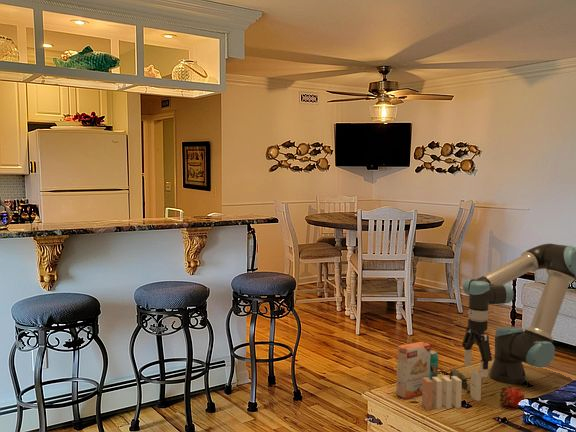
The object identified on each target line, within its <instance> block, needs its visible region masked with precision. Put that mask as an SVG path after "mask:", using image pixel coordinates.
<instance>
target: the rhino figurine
mask: <svg viewBox="0 0 576 432" xmlns="http://www.w3.org/2000/svg"><path fill="white" fill-rule="evenodd" d="M451 376H457V377H458V378H459V379H461V380H462V387H463V388H465V389H468V387H469V385H470V384H469V383H468V381H467V380H468V379H469V377H466V376H465V375H464V374H463V373H462V372H460V371H459V370H458V369H457V368H453V369H451V370H450V371H449V379H450V380H451Z"/></svg>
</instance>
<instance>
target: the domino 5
mask: <svg viewBox="0 0 576 432" xmlns="http://www.w3.org/2000/svg"><path fill="white" fill-rule="evenodd" d="M469 385H470V387H469V388H470V391H469V394H470V395H469V396H470V397H471V398H472V399H473V400H474V401H481V400H482V377H480V372H479V370H477V369H470V384H469Z"/></svg>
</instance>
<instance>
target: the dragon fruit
mask: <svg viewBox="0 0 576 432" xmlns="http://www.w3.org/2000/svg"><path fill="white" fill-rule="evenodd" d="M524 399H525V395H524V391H523V389H520V388H519V387H517V386H514V387H513V386H507V387H506V386H505V387H502V388H501V390H500V391H499V401H500V402H502V404H503V405H504V406H505V407H507V408H510V407H513V408H516V409H518V408H519V406H518V403H519V402H520V401H521V400H524ZM524 401H525V400H524Z"/></svg>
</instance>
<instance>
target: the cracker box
mask: <svg viewBox="0 0 576 432" xmlns="http://www.w3.org/2000/svg"><path fill="white" fill-rule="evenodd" d="M431 350H432V345H431V344H430V343H426V342H423V341H417V342H411V343H407V344H406V343H405V344H402V345H399V346H397V362H396V363H397V366H396V394H395V395H396V396H398V397H399V398H402V399H404V400H409V399H412V398H415V397H419V396H422V381H423V377H428V378H429V379H430V357H431Z"/></svg>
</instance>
